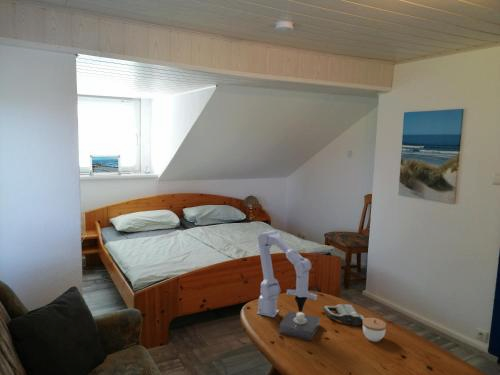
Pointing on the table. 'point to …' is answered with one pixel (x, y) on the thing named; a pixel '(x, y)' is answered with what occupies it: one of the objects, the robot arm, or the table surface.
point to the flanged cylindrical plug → (300, 318)
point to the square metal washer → (299, 326)
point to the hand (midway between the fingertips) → (300, 310)
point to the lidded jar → (374, 329)
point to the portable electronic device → (344, 314)
